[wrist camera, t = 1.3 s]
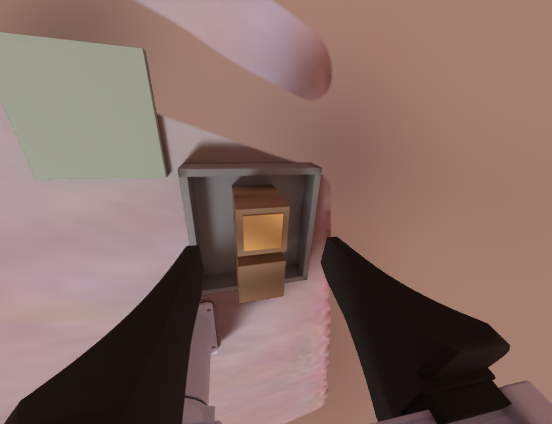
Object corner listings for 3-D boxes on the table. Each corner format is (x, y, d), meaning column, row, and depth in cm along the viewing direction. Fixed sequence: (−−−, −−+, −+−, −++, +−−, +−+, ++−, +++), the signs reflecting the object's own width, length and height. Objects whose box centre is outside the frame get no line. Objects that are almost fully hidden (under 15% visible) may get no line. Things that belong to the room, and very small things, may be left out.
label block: (270, 219, 22) (286, 251, 17) (233, 222, 21) (237, 257, 16) (271, 184, 21) (290, 207, 15) (231, 185, 20) (235, 210, 14)
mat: (167, 175, 18) (166, 177, 18) (41, 178, 16) (35, 180, 15) (145, 50, 14) (142, 48, 14) (-22, 32, 12) (-33, 28, 12)
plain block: (269, 257, 24) (283, 296, 19) (235, 261, 23) (239, 303, 18) (270, 227, 23) (285, 261, 17) (233, 230, 22) (238, 266, 16)
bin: (299, 266, 26) (307, 279, 24) (199, 279, 23) (197, 296, 21) (311, 162, 21) (321, 167, 19) (182, 163, 18) (177, 169, 16)
